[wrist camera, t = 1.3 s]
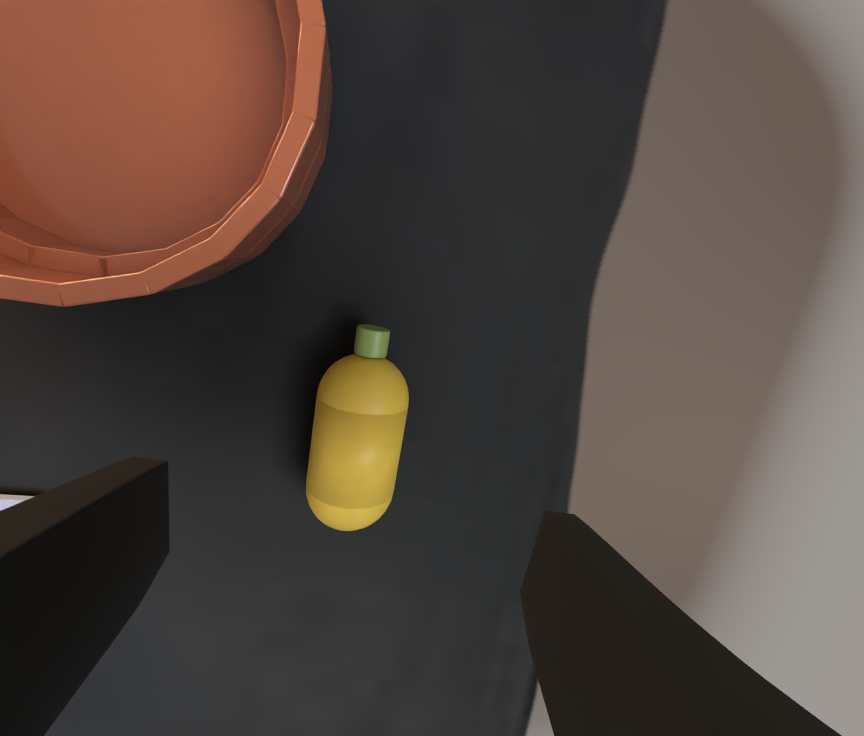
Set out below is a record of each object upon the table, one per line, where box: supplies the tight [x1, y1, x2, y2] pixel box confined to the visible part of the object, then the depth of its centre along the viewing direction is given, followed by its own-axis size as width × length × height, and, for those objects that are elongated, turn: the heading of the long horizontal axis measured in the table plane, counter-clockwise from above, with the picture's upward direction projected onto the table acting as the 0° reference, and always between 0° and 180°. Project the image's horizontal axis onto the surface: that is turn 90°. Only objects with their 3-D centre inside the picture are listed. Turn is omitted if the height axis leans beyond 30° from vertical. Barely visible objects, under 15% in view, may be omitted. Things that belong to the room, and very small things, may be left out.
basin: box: [0, 0, 333, 307], centre depth 12 cm, size 13×13×5 cm
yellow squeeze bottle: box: [306, 325, 409, 531], centre depth 17 cm, size 8×3×3 cm, turn 170°
